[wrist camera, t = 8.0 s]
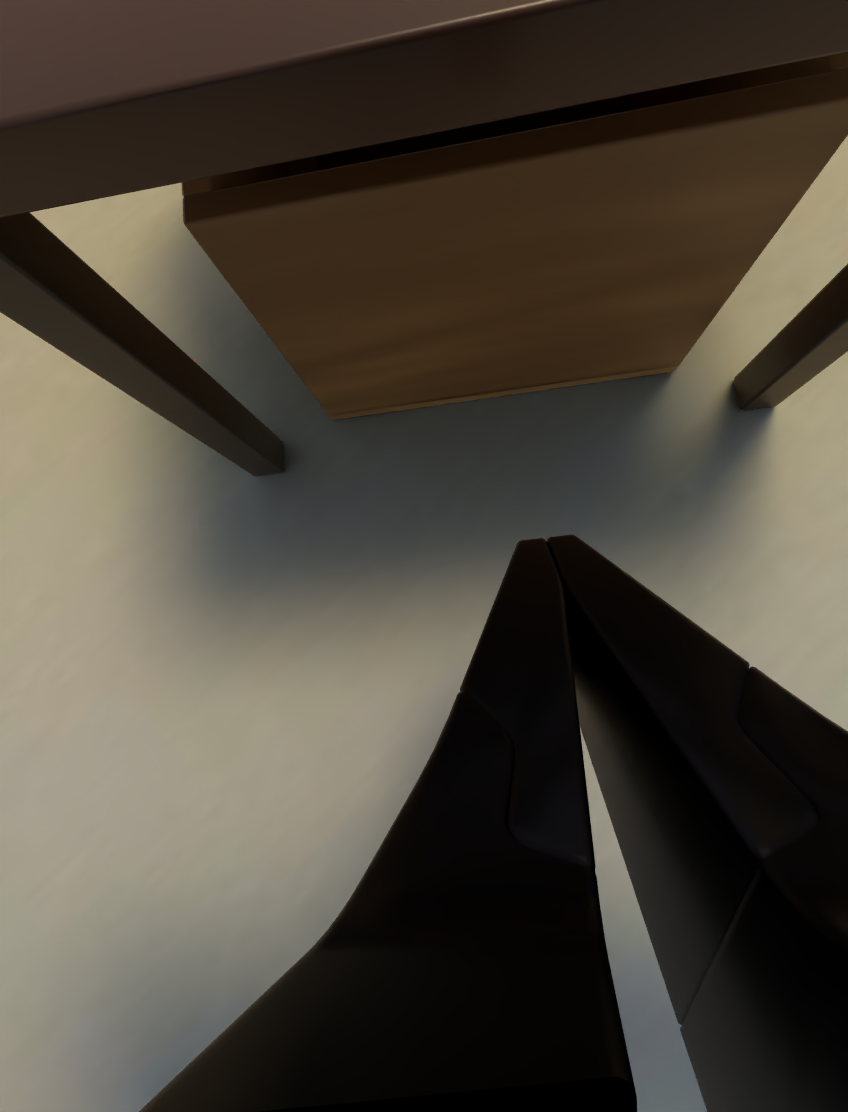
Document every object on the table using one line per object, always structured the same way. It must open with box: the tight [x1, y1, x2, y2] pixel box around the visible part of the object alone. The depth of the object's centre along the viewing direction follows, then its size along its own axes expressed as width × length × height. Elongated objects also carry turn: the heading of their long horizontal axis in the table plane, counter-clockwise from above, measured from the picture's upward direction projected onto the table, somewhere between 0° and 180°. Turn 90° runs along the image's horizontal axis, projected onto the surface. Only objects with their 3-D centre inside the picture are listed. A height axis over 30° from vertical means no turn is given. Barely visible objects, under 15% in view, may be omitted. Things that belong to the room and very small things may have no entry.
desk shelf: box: [0, 0, 848, 476], centre depth 11 cm, size 12×15×11 cm
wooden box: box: [182, 52, 848, 420], centre depth 12 cm, size 8×10×8 cm
